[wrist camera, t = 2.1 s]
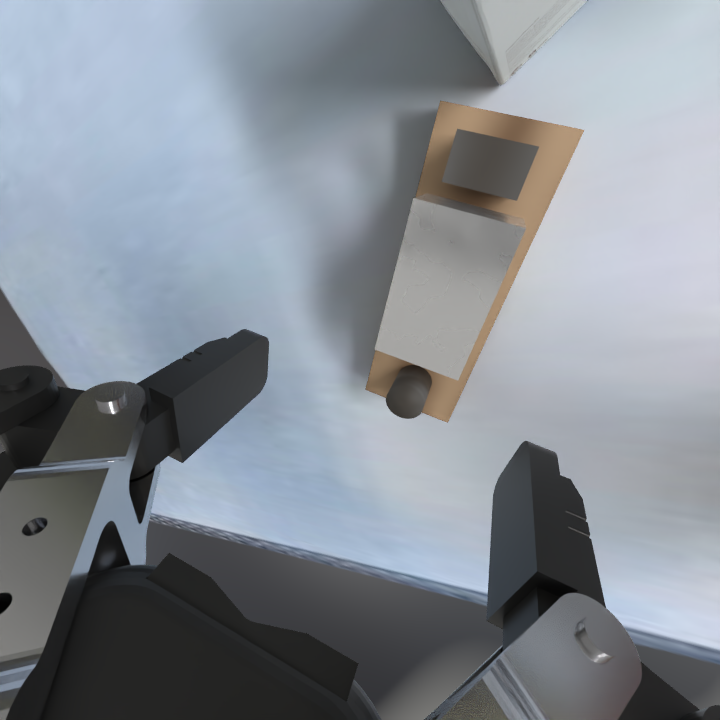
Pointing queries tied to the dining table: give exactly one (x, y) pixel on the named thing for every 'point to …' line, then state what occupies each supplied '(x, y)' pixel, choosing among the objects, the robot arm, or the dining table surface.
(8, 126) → the dining table surface
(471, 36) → the skincare box
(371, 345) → the dining table surface
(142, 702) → the robot arm
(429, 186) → the body
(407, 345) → the lever cap
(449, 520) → the dining table surface
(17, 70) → the dining table surface
